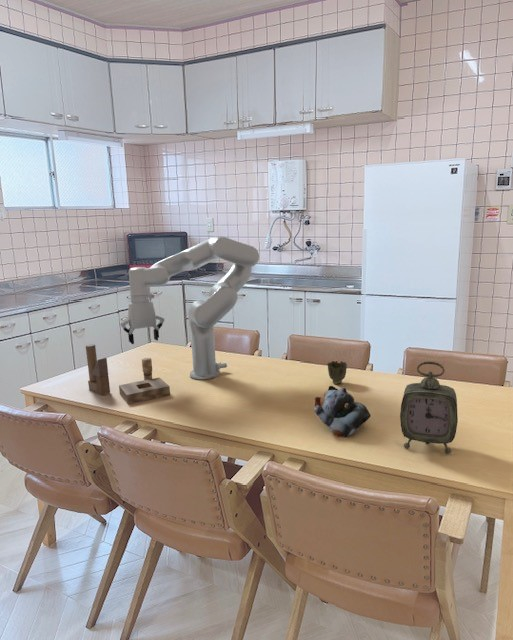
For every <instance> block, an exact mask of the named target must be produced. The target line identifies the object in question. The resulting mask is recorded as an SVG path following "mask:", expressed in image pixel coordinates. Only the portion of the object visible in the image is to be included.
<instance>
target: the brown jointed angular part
mask: <svg viewBox="0 0 513 640" xmlns="http://www.w3.org/2000/svg"><path fill="white" fill-rule="evenodd" d="M96 347H97V346H96V344H94V343H89V344H87V345H85V352H86V362H87V367H88V368H87V369H88V378H89V379H88V380H87V383H88V384H87V385H88V389H89V390H90V391H92V392H94V393H97V394H99V395H101V396H104V395H106V394H107V393H108V394H111V387H110V386H111V385H110V379H109V369H108V359H107V357H103V358H99V359H97V349H96Z"/></svg>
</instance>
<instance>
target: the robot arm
mask: <svg viewBox="0 0 513 640" xmlns="http://www.w3.org/2000/svg"><path fill="white" fill-rule="evenodd" d="M217 259H222V260H223V261H226V262H229V263H232V265H231V268H230V269H229V271H228V272H226V274H225V275H224V276H223V277H222V278H220V280H218V282H216V283H215V284H214V285H212V286H211V288H210V289H209V292H208V296H209V297H208V298H207V299H206V300H202V299H199V300H197V299H196V300H194V302H192V303H191V304H190V305H189V307H188V312H187V313H188V314H187V315H188V320H189V321H188V322H189V327H190V328H189V329H190V339H191V342H190V343H191V352H192V353H191V355H192V357H191V358H192V369H193V370H191V371H190V372H189V377H190V378H192V379H194V380H203V381H204V380H210V379H214V378H217V377H219V376H220V375H221V369H224V368H227V367H228V365H227V363H222V362H217V361H216V360H217V359H216V347H215V346H216V345H215V329H214V326H215V325H216V324H217V323H219V322H220V321H221V320H222V319H223V318H224V317H226V315H227V314H228V313H229V312H230V311H231V310H232V309H233V308H234V307H235V305H236V304H237V301H238V292H239V291H240V290H241V289H242V288H243V287H244V286H245V285H246V283H247V282H248V281H249V279H250V276H251V273H252V268H253V267H254V266H256V265H257V264H258V262H259V260H260V253H259V251H258V249H257V248H256V247H254V246H252V245H250V244H246V243H243V242H240V241H237V240H235V239H231V238H228V237H226V236H221V235H214V236H211V237H210V238H208V239H205V240H203V241H201V242H199V243H198V244H195V245H194V246H191V247H189V248H186V249H185V250H182V251H181V252H178V253H176V254H174V255H171V256H168V257H166V258H164V259H162V260H160V261H158V262H156V263H154V264H153V265H151V266H149V267H148V268H147V267H145V266H136V267H135V266H133V267H130V268H129V270H128V277H129V278H128V280H129V292H130V302H128V313H127V314H128V317H127V319H125V320H124V321H122V322H120V323H119V324H120V327H121V328H122V329H123V330H124V332H126V333H127V335H128V343H130V344H132V345H134V344H135V339H134V338H135V337H134V331H135V330H138V329H144V328H146V329H147V328H152V327H153V330H152V331H153V338H154V340H155V341H159V338H160V335H159V333H160V329H161V327H162V326H163V324H164V322H165V318H164V317H162V316H159V315H157V314H156V310H155V306H154V302H153V301H152V300H153V299H155V295H154V294H151V286H154V287H157V286H159V287H161V286H164V285H167V284H168V283H169V281H170V280H171V279H170V278H172V277H173V276H175V275H177V274H180V273H183V272H189V271H194V270H197V269H199V268H201V267H203V266H205V265H207V264H209V263H210V262H213V261H215V260H217ZM157 320H158V324H157ZM127 324H128V326H129V328H127V327H126V325H127Z"/></svg>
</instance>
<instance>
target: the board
mask: <svg viewBox="0 0 513 640" xmlns="http://www.w3.org/2000/svg"><path fill="white" fill-rule="evenodd" d="M118 390H119V395H120V396H121V397H122V399H123V400H124V401H125V403H126V404H127V405H130V404H135V403H138V402H139V401H140V402H145V401H148V400H154V399H157V398H162V397H167V395H168V396H170V395H171V388H170V385H169V384H168V383H166V382H165V381H164V379H162V378H161V377H160V376H159V377H156V378H152V379H149V380H144V379H143V380H140V381H133V382H129V383H126V384H123V383H122V384H119V385H118ZM153 398H154V399H153ZM134 402H135V403H134ZM140 402H139V403H140Z"/></svg>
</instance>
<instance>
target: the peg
mask: <svg viewBox="0 0 513 640" xmlns="http://www.w3.org/2000/svg"><path fill="white" fill-rule="evenodd" d="M152 361H153V360H152V357H145V358H144V357H143V358H142V359H141V368H142V373H143V381H144V380H149V379H153V363H152Z"/></svg>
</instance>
